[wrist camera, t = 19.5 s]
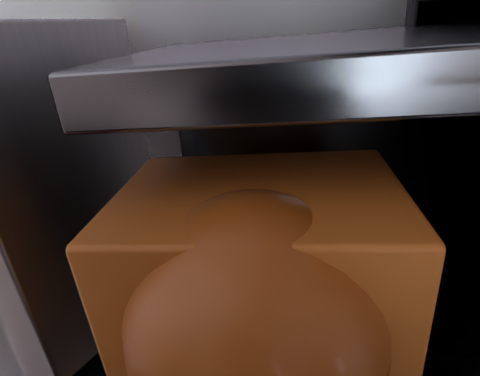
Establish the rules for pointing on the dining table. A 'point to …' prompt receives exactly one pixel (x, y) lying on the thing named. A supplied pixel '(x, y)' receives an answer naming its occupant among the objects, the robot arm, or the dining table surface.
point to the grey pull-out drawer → (223, 148)
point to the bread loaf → (260, 268)
